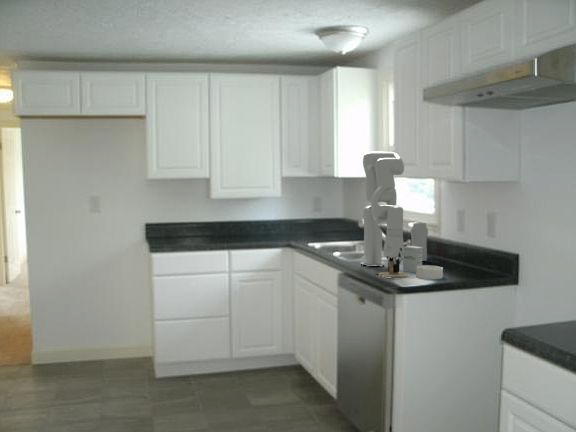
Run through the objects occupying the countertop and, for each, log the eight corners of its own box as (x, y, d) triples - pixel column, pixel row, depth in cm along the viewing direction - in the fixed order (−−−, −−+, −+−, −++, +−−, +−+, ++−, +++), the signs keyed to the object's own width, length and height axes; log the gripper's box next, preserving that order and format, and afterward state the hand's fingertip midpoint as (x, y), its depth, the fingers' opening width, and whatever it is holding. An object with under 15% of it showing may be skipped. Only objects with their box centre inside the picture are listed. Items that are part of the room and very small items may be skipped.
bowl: (411, 276, 285) (412, 266, 285) (431, 275, 290) (431, 264, 290) (427, 281, 275) (427, 270, 275) (447, 279, 280) (447, 268, 280)
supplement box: (402, 271, 300) (402, 246, 299) (409, 270, 306) (409, 245, 305) (415, 273, 295) (416, 248, 294) (422, 271, 301) (423, 246, 300)
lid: (373, 274, 288) (373, 260, 287) (396, 272, 294) (397, 258, 293) (390, 278, 276) (390, 264, 275) (414, 277, 282) (414, 262, 281)
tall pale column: (411, 262, 332) (412, 222, 331) (408, 261, 336) (409, 222, 335) (428, 261, 335) (430, 222, 334) (425, 260, 339) (426, 221, 338)
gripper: (378, 231, 289) (377, 269, 290) (398, 235, 274) (397, 275, 276) (390, 231, 292) (389, 268, 294) (411, 234, 277) (410, 273, 279)
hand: (393, 271), depth 285 cm, fingers closed on lid, 3 cm apart
